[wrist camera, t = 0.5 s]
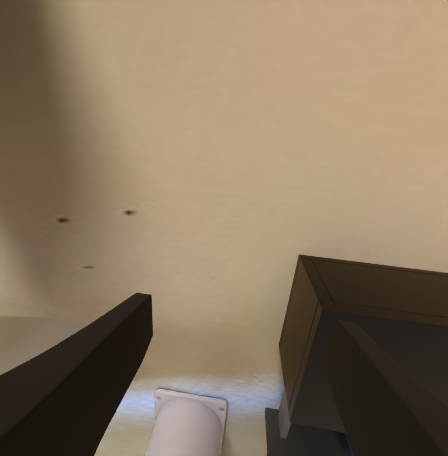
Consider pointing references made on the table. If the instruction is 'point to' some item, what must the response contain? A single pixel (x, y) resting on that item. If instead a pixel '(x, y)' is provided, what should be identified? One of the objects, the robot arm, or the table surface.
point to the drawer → (300, 436)
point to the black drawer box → (368, 321)
